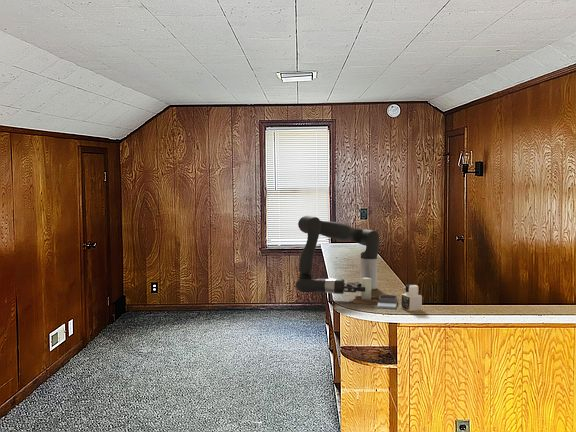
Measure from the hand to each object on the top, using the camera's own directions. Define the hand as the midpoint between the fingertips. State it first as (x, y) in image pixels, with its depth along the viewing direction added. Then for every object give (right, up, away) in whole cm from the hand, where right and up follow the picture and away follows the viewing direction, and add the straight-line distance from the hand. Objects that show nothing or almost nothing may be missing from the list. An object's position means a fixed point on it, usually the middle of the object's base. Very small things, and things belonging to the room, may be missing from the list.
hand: (366, 287), depth 304 cm
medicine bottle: (+20, -9, -15) cm, 27 cm away
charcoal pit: (+11, -7, -2) cm, 13 cm away
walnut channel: (0, -7, +1) cm, 7 cm away
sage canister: (0, -7, +1) cm, 7 cm away
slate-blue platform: (+9, -8, -10) cm, 16 cm away
